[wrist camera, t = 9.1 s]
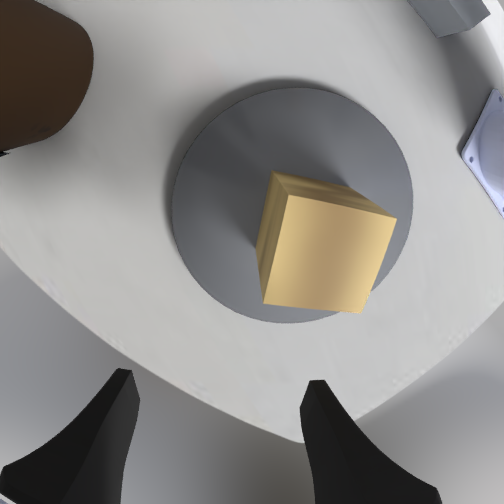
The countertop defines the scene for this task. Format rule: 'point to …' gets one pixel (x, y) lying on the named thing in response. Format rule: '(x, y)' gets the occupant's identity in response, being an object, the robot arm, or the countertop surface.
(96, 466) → the robot arm
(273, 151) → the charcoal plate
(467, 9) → the slate grey block
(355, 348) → the countertop surface
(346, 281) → the ochre block
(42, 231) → the countertop surface
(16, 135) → the olive oil
